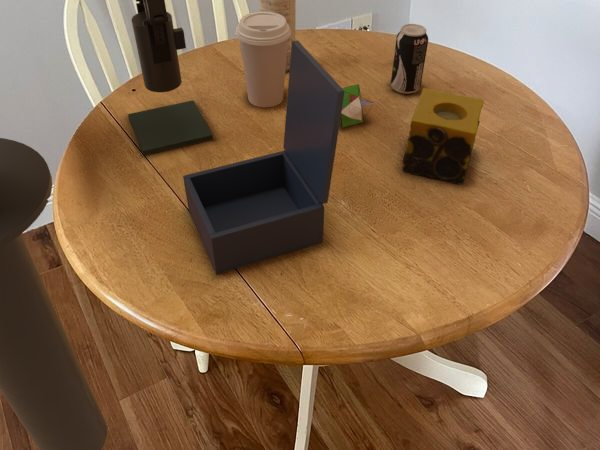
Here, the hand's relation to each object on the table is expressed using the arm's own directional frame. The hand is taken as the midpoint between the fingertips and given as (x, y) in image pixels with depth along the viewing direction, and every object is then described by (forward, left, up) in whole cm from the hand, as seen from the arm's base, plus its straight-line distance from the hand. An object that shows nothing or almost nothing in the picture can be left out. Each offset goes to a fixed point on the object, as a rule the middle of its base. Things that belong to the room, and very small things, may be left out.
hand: (157, 51), depth 92 cm
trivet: (0, 0, -15) cm, 15 cm away
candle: (+26, +38, -15) cm, 48 cm away
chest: (+29, +5, -15) cm, 33 cm away
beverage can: (+4, +45, -15) cm, 47 cm away
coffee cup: (-3, +19, -15) cm, 24 cm away
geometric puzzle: (+10, +30, -15) cm, 35 cm away
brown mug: (0, 0, -6) cm, 6 cm away
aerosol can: (-14, +26, -15) cm, 33 cm away
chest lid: (+29, +13, +1) cm, 32 cm away
